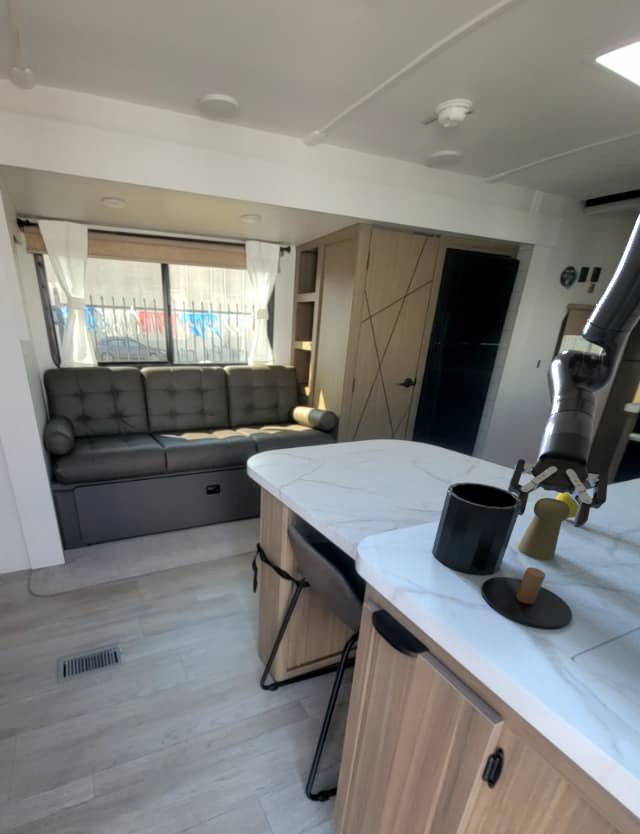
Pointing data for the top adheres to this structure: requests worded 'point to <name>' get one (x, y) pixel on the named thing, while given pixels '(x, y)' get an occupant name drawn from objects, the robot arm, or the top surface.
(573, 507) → the lemon
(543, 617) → the lid
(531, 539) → the cork
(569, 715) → the top surface
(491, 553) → the canister
